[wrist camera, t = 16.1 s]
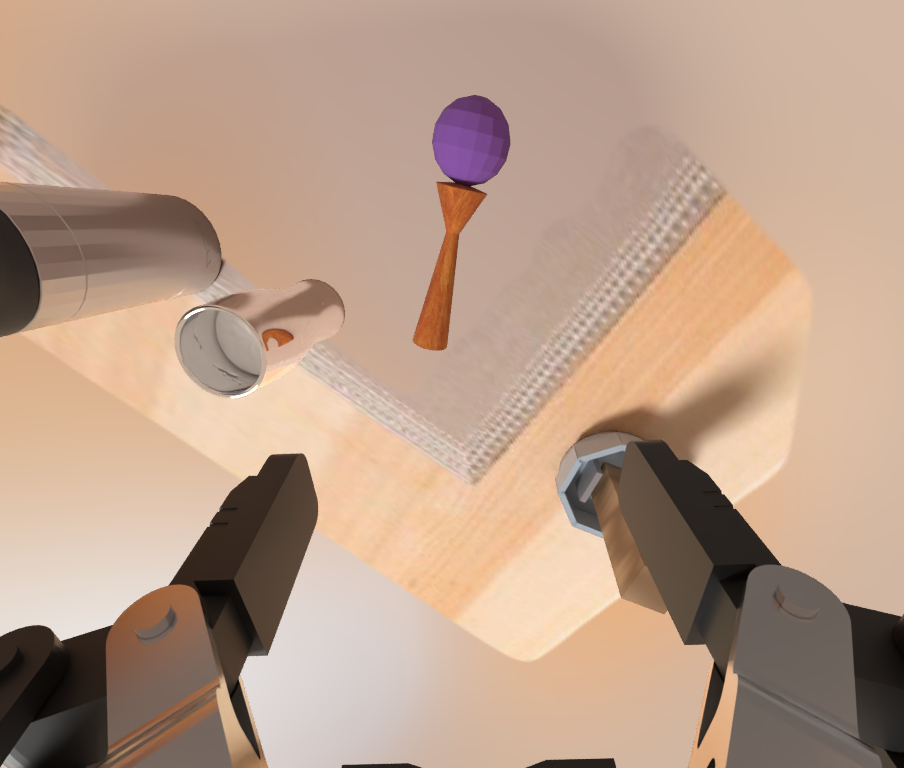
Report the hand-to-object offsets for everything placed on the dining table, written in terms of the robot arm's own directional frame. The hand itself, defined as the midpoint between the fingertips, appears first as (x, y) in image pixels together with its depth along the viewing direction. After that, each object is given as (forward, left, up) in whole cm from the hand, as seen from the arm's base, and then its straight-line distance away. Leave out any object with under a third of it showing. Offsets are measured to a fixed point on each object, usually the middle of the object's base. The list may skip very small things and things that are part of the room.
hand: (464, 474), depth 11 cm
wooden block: (+11, -20, -30) cm, 37 cm away
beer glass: (-18, -1, -31) cm, 36 cm away
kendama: (-4, +5, -31) cm, 32 cm away
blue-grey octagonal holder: (+11, -20, -31) cm, 38 cm away
